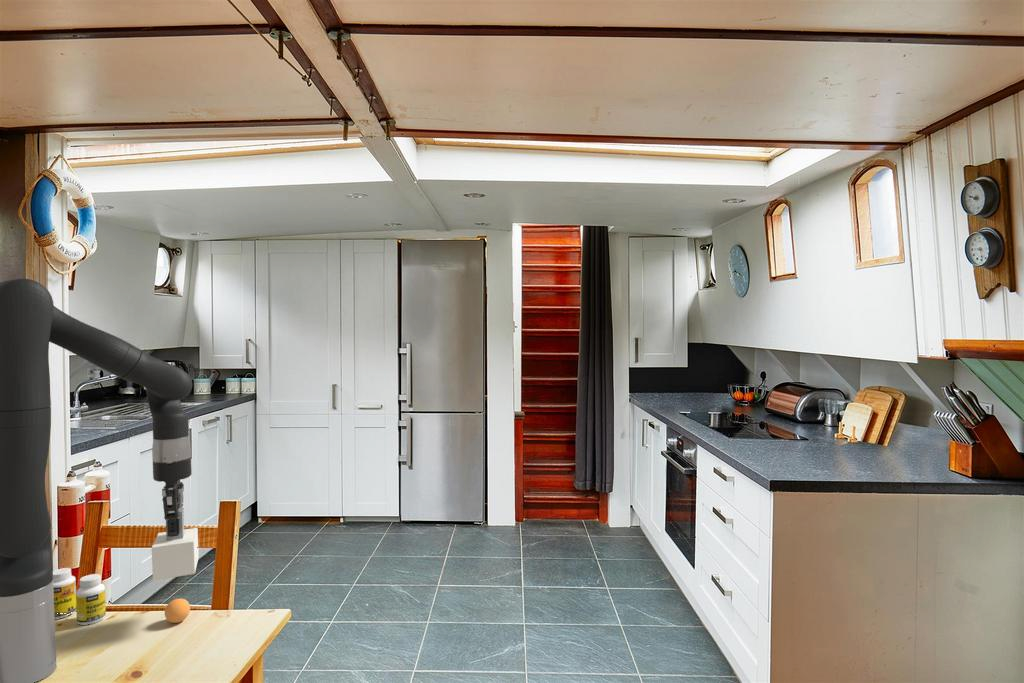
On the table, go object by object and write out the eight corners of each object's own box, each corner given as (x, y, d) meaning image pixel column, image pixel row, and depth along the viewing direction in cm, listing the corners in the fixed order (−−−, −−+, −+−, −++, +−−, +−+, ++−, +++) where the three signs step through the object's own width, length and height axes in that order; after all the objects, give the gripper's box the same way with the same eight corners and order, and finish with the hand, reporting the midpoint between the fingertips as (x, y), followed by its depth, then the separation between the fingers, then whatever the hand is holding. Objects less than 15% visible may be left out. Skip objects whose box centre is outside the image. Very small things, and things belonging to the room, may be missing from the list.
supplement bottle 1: (45, 623, 134) (43, 578, 134) (47, 613, 139) (46, 570, 139) (76, 616, 137) (74, 572, 137) (77, 606, 142) (75, 564, 142)
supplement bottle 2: (85, 628, 132) (84, 584, 132) (71, 623, 134) (69, 579, 134) (111, 616, 137) (109, 574, 136) (97, 612, 139) (95, 570, 139)
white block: (152, 580, 129) (150, 519, 128) (159, 563, 138) (157, 507, 138) (194, 573, 132) (192, 514, 132) (198, 557, 141) (196, 502, 141)
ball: (167, 598, 136) (166, 622, 135) (163, 602, 131) (162, 627, 130) (191, 595, 138) (191, 618, 137) (188, 598, 133) (188, 622, 132)
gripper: (157, 452, 139) (160, 526, 140) (147, 465, 126) (150, 546, 127) (193, 449, 142) (196, 521, 143) (187, 461, 129) (190, 540, 130)
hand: (174, 532), depth 135 cm, fingers closed on white block, 3 cm apart
